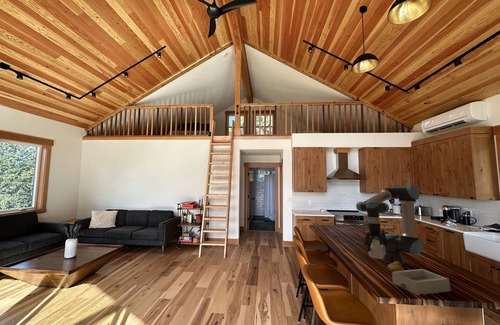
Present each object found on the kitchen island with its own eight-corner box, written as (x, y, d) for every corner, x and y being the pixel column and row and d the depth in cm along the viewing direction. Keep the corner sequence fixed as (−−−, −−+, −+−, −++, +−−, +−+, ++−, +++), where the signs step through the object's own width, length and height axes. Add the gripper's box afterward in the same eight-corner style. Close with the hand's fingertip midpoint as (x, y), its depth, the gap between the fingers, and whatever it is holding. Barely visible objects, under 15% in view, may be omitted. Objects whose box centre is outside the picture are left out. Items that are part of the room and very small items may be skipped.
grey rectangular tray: (390, 283, 141) (389, 271, 142) (423, 279, 145) (421, 268, 146) (414, 295, 124) (413, 282, 125) (450, 291, 129) (448, 278, 129)
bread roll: (408, 278, 148) (406, 266, 149) (392, 276, 151) (391, 264, 152) (400, 271, 160) (399, 260, 161) (386, 270, 163) (385, 259, 164)
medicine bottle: (372, 254, 155) (370, 237, 156) (384, 256, 150) (382, 239, 152) (370, 257, 149) (369, 239, 150) (382, 259, 145) (380, 241, 146)
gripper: (363, 224, 147) (367, 258, 144) (391, 222, 151) (395, 255, 148) (356, 222, 154) (359, 255, 151) (383, 221, 158) (386, 252, 155)
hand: (377, 255), depth 150 cm, fingers closed on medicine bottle, 10 cm apart
